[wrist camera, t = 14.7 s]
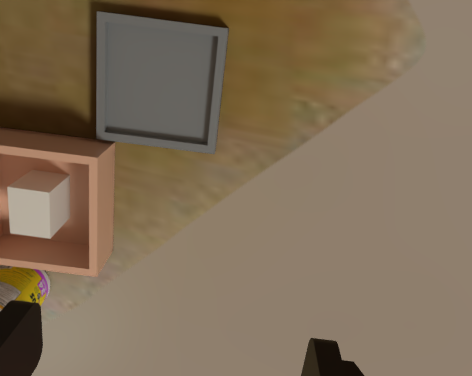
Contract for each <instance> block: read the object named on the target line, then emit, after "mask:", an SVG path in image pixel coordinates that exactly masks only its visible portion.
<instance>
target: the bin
mask: <svg viewBox="0 0 472 376" xmlns="http://www.w3.org/2000/svg"><path fill="white" fill-rule="evenodd" d="M31 170H38V171H46V172H53V173H60V174H67V175H70V218H69V219H68V220H67V221H66V222H65V223H64V225H63V226H62V227H61V228H60V229H59V230H58V231H57V232H56V233H55V234H54V235H53V236H52V238H51V239H48V238H41V237H34V236H26V235H19V234H12V233H10V223H9V207H8V191H7V187H8V186H9V185H11V184H12V183H13V182H15V181H16V180H18V179H19V178H21V177H22V176H24V175H25V174H27V173H28V172H30V171H31ZM114 176H115V142H112V141H104V140H96V139H89V138H81V137H73V136H65V135H57V134H50V133H42V132H34V131H26V130H19V129H11V128H3V127H0V265H6V266H14V267H22V268H30V269H38V270H46V271H54V272H62V273H70V274H78V275H86V276H94V277H97V276H98V274H99V273H100V271H101V269H102V268H103V266H104V264H105V263H106V261H107V259H108V258H109V256H110V254H111V253H112V251H113V226H114Z"/></svg>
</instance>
